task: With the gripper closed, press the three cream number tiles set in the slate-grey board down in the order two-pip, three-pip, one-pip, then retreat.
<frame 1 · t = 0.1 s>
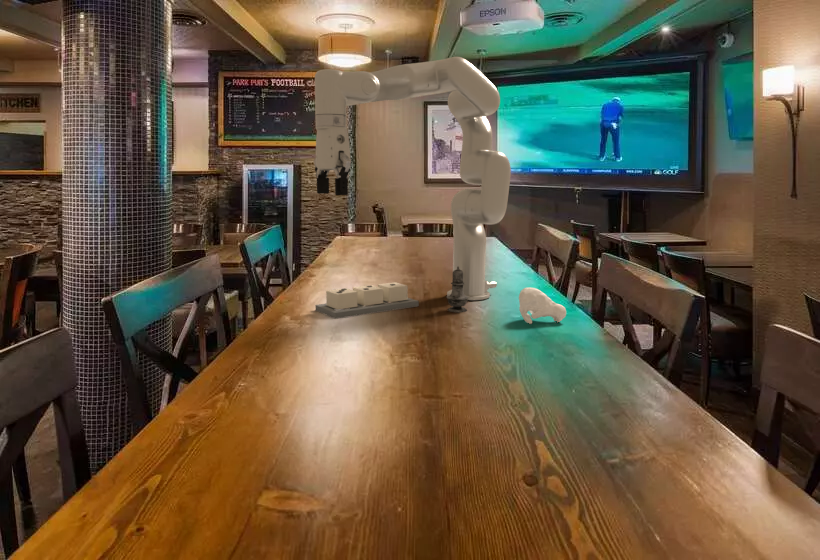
hand: (332, 194, 153), 31 cm above the table, fingers open, 9 cm apart
tile two: (367, 294, 167), point 4 cm above the table, slide at 0.0 cm
tile one: (392, 291, 172), point 4 cm above the table, slide at 0.0 cm
board: (368, 308, 168), on the table
grey turned candlestick: (457, 310, 167), on the table
cream animal figurine: (541, 322, 155), on the table
tile three: (341, 298, 163), point 4 cm above the table, slide at 0.0 cm
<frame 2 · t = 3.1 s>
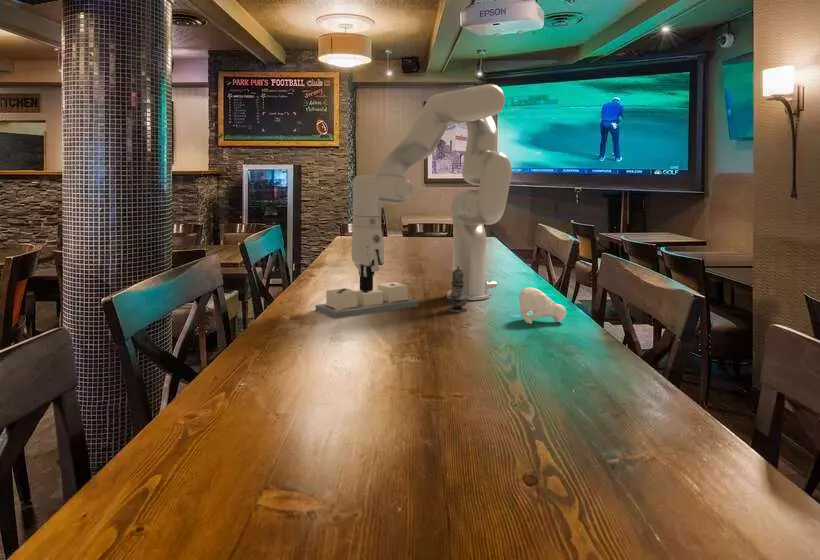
hand: (366, 290, 167), 5 cm above the table, fingers closed
tile two: (367, 298, 168), point 3 cm above the table, slide at 0.9 cm, touching gripper
everything else where it was.
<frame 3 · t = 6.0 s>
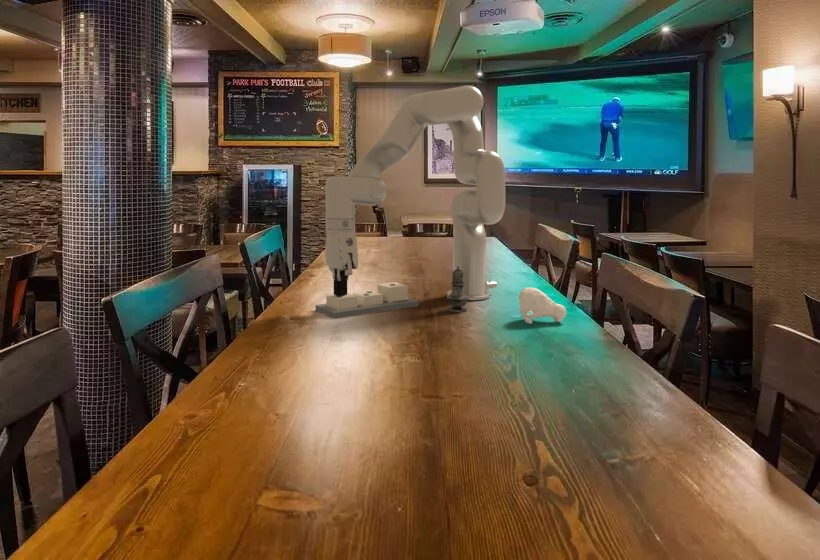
hand: (340, 294, 163), 5 cm above the table, fingers closed
tile two: (367, 300, 168), point 2 cm above the table, slide at 1.6 cm
tile three: (341, 302, 163), point 3 cm above the table, slide at 1.2 cm, touching gripper
everything else where it was.
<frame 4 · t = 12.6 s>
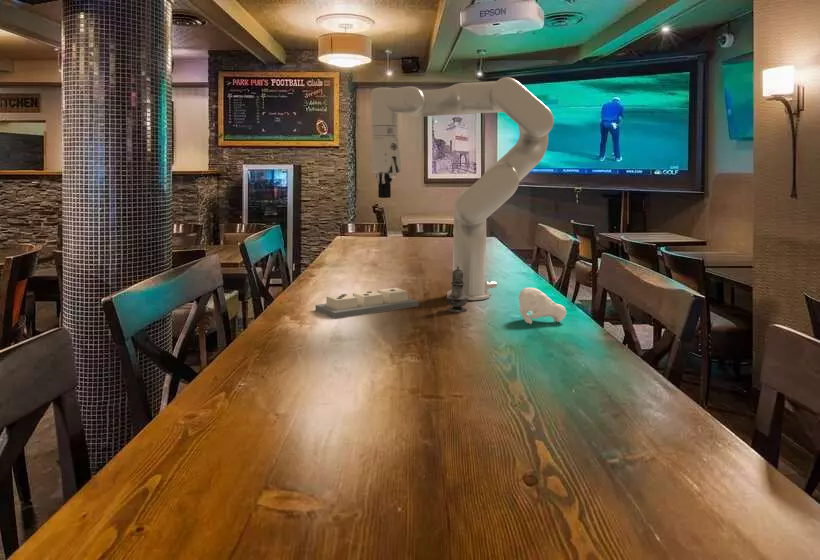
hand: (384, 197, 180), 29 cm above the table, fingers closed
tile one: (392, 297, 172), point 2 cm above the table, slide at 1.5 cm
tile three: (341, 303, 163), point 2 cm above the table, slide at 1.5 cm
everything else where it was.
at the end: tile two slide at 1.6 cm; tile three slide at 1.5 cm; tile one slide at 1.5 cm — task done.
